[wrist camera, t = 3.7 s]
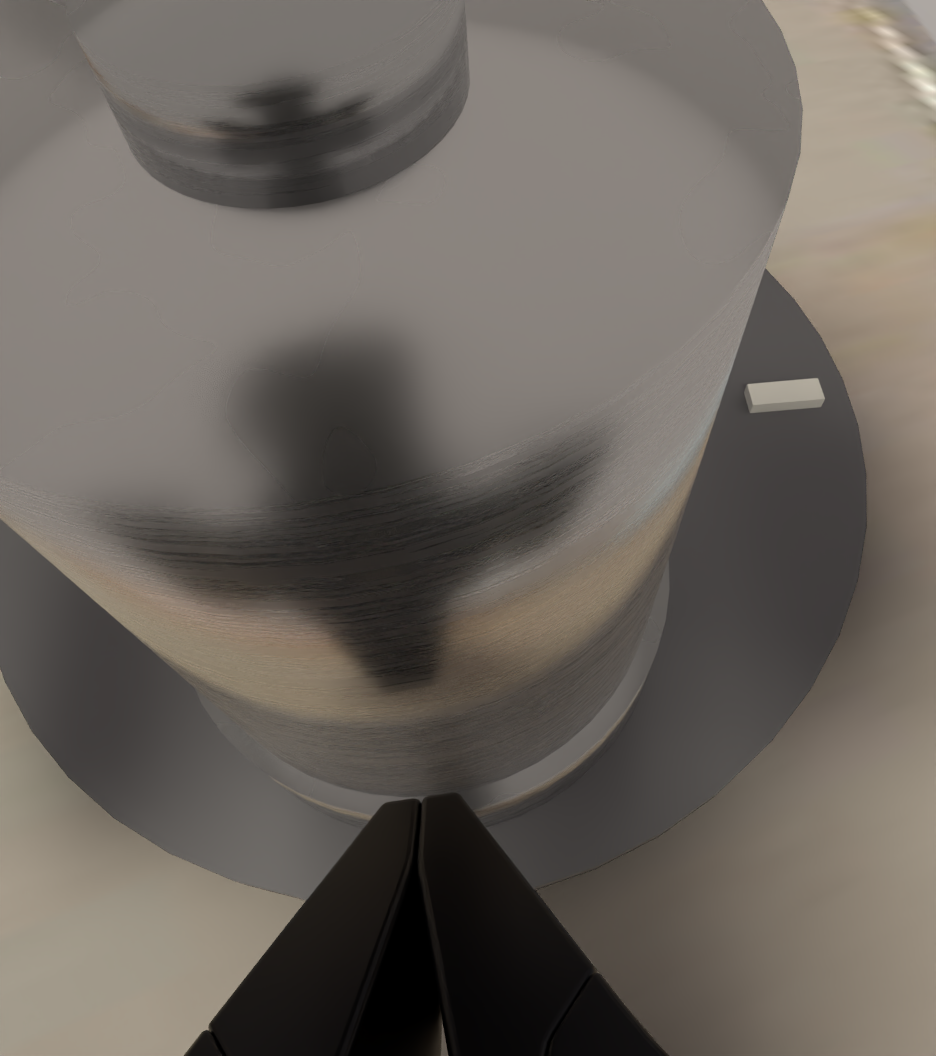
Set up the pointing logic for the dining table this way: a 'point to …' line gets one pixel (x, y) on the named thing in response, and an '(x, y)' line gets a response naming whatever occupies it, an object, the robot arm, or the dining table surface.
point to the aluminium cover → (382, 355)
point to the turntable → (648, 735)
